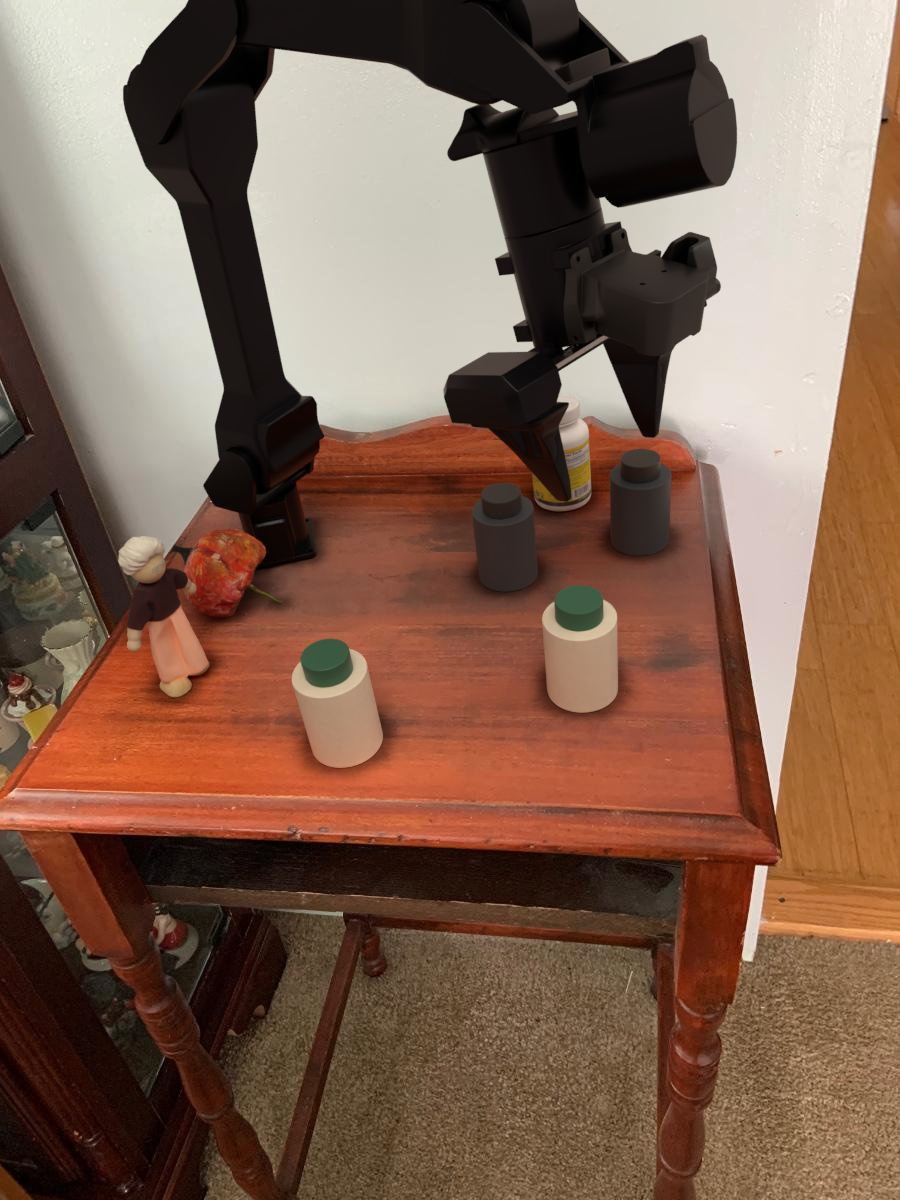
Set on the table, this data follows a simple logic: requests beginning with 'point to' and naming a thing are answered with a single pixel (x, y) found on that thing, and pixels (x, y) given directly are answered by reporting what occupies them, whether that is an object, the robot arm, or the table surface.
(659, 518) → the grey bottle right
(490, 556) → the grey bottle left
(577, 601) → the cream bottle
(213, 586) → the red orange flower
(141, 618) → the grandmother figurine
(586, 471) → the supplement bottle
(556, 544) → the table surface
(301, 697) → the cream bottle
